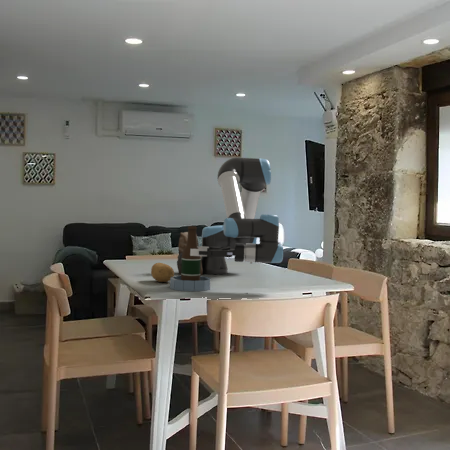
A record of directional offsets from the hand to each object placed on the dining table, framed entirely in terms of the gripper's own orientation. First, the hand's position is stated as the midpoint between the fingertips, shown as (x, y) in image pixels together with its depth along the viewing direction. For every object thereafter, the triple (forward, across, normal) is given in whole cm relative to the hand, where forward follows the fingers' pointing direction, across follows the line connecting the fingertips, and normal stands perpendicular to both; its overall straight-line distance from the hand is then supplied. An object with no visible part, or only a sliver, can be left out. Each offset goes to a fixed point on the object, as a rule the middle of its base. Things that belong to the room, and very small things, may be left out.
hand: (191, 250), depth 231 cm
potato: (+13, +14, -15) cm, 25 cm away
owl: (+4, +46, -15) cm, 48 cm away
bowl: (0, 0, -15) cm, 15 cm away
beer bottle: (0, 0, -14) cm, 14 cm away
